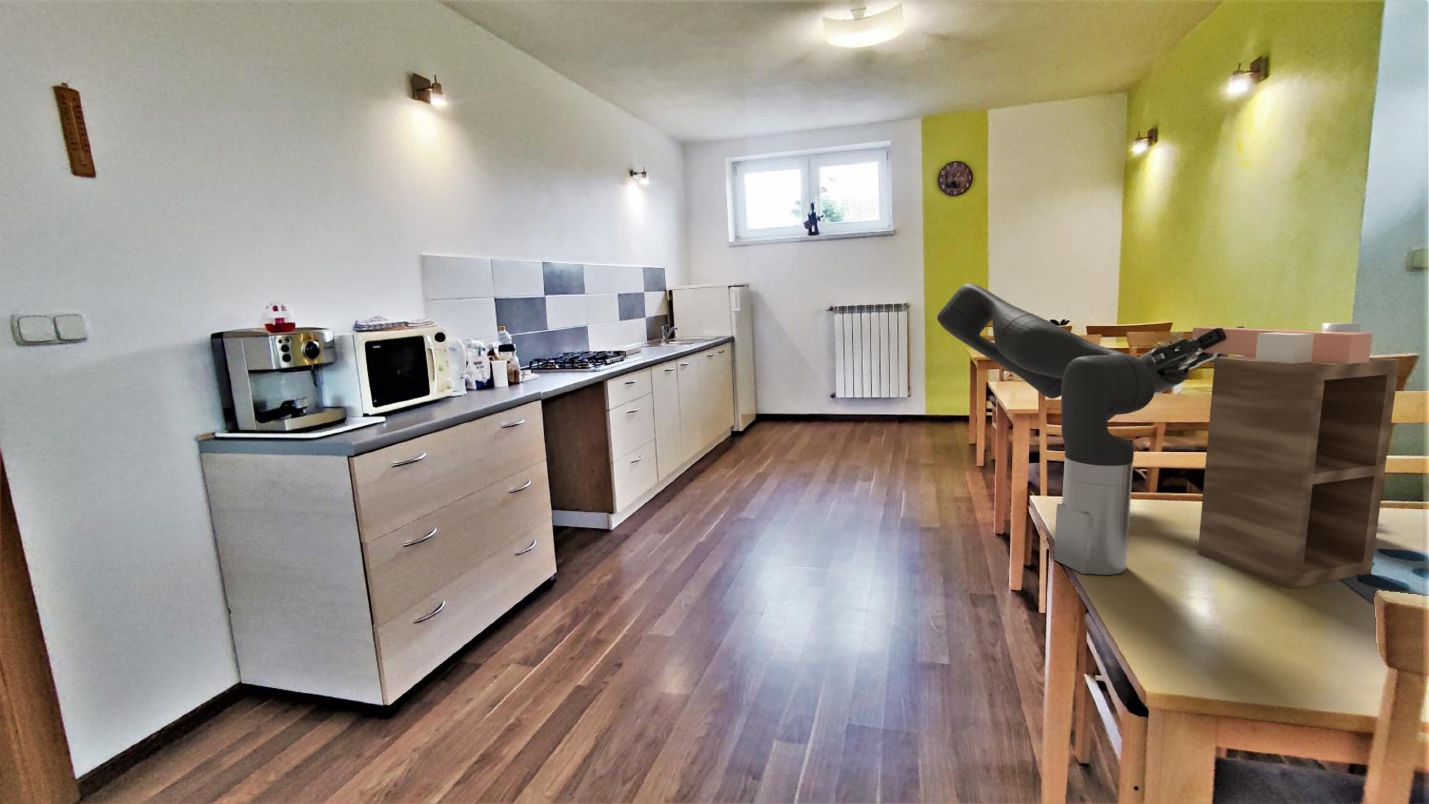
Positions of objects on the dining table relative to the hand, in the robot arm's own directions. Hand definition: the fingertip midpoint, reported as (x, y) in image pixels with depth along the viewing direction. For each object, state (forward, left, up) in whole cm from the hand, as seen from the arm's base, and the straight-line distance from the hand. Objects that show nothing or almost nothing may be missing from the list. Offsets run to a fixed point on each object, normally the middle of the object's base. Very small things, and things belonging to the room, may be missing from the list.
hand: (1233, 332), depth 109 cm
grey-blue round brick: (+5, -12, -3) cm, 13 cm away
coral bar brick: (0, -6, -3) cm, 7 cm away
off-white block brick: (-5, -12, -3) cm, 13 cm away
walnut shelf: (0, -11, -35) cm, 37 cm away
